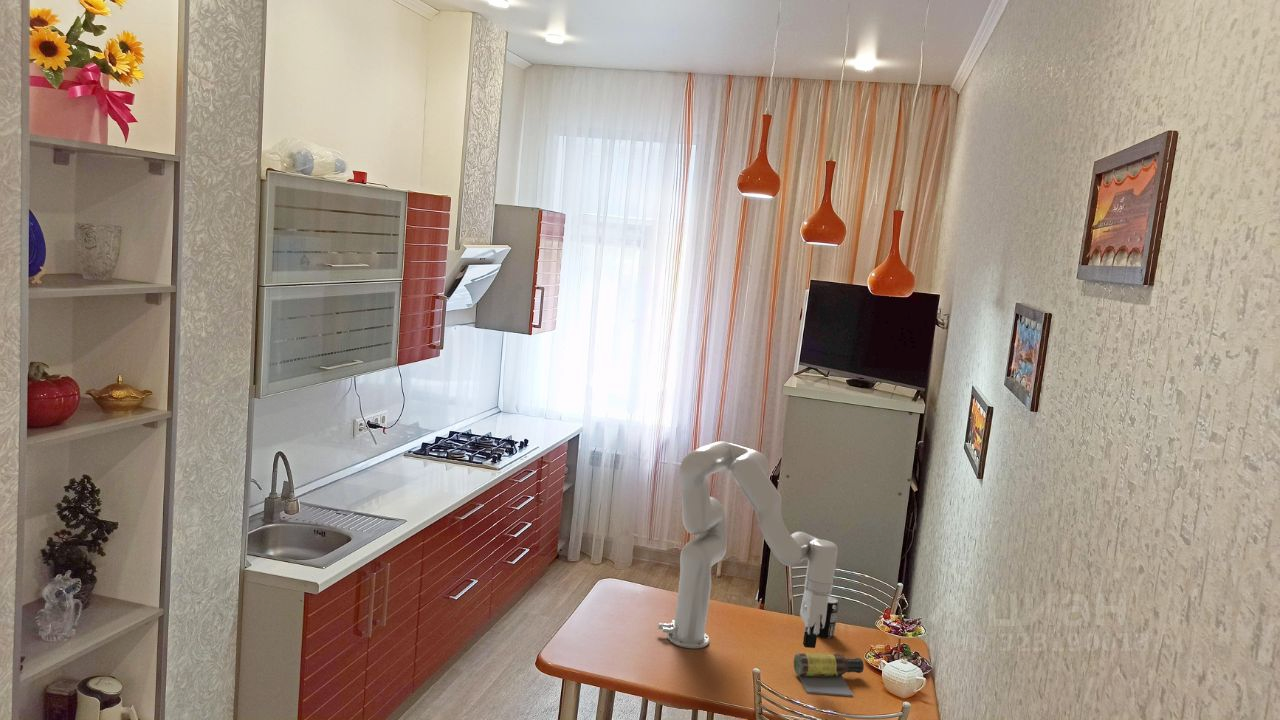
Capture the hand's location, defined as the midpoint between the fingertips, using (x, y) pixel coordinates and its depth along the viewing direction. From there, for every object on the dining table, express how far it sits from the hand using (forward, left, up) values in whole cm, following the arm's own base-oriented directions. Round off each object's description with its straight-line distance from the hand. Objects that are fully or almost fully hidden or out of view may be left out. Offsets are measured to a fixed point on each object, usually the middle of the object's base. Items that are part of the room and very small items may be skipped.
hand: (808, 646), depth 259 cm
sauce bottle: (-2, +2, -6) cm, 7 cm away
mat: (+5, 0, -10) cm, 12 cm away
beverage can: (+14, +32, -10) cm, 36 cm away
